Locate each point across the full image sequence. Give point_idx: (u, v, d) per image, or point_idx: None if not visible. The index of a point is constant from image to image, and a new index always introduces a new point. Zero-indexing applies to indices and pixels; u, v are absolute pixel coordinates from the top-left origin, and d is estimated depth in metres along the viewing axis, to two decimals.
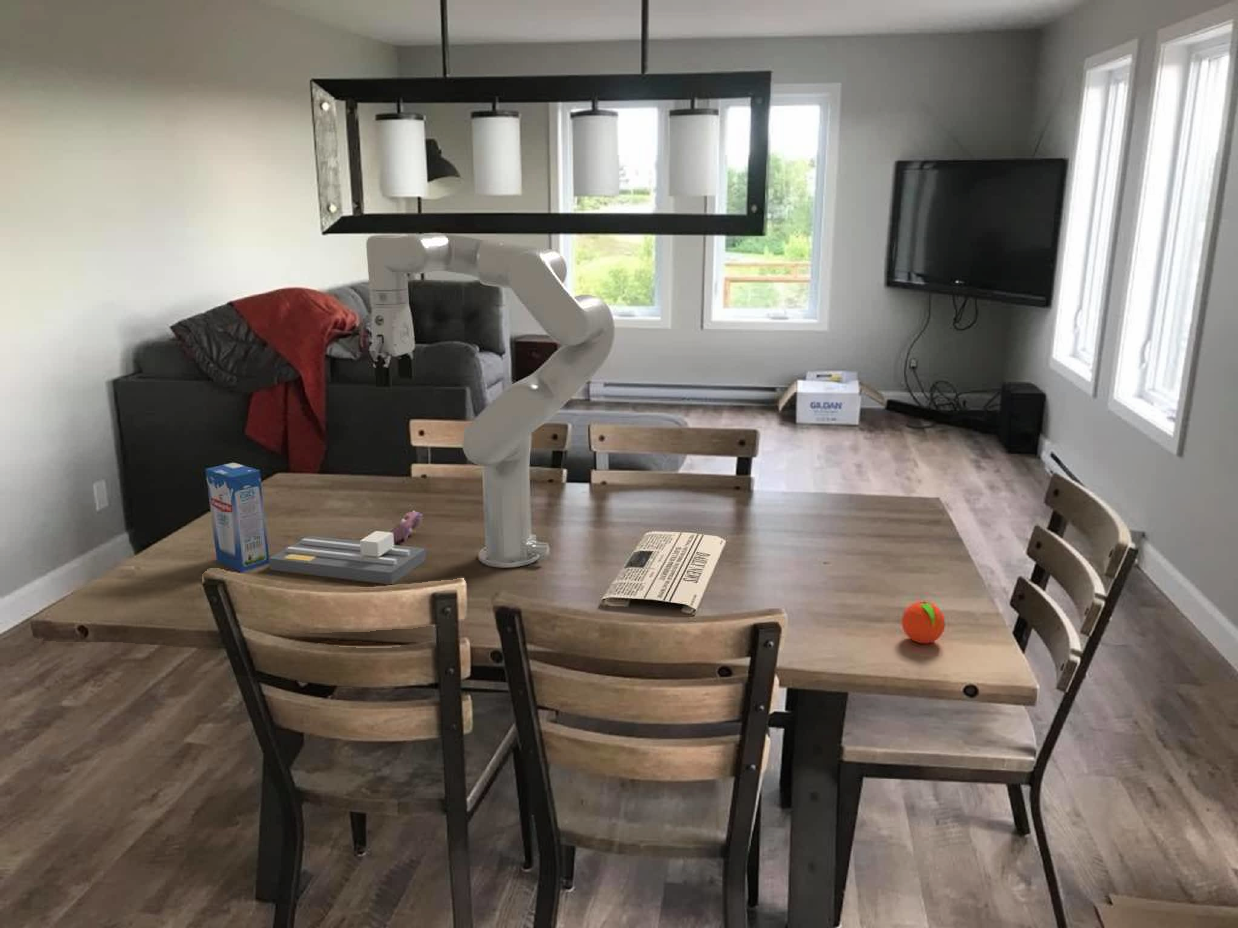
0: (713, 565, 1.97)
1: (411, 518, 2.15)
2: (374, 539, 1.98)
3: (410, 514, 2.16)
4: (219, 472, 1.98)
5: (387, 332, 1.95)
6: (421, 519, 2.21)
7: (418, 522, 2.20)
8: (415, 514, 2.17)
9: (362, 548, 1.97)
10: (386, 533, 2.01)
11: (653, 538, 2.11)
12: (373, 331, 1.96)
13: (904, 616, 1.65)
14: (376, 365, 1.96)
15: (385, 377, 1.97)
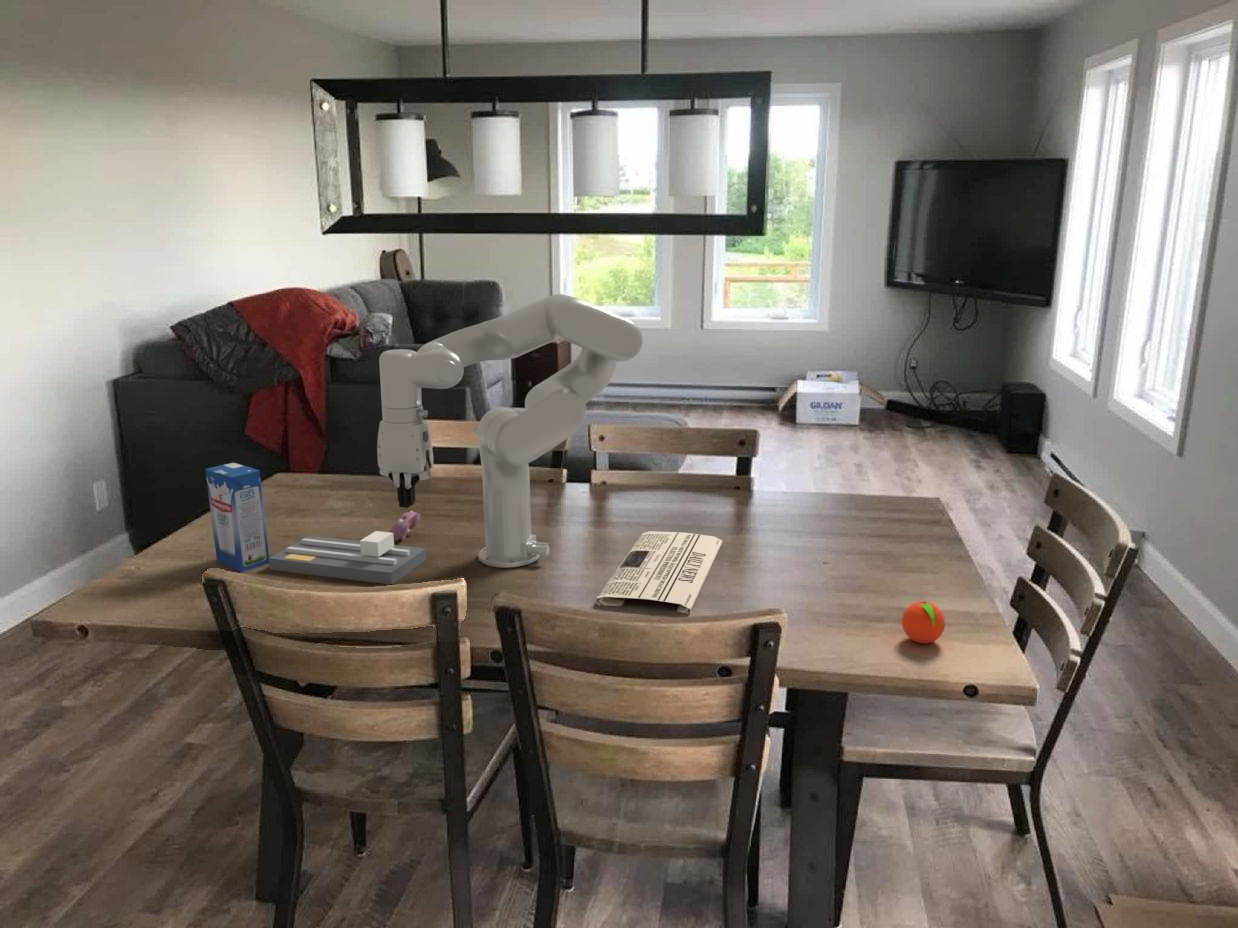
0: (709, 565, 1.98)
1: (409, 518, 2.15)
2: (374, 539, 1.98)
3: (408, 514, 2.17)
4: (219, 472, 1.98)
5: (430, 445, 1.91)
6: (419, 519, 2.21)
7: (416, 522, 2.20)
8: (413, 514, 2.17)
9: (362, 548, 1.97)
10: (386, 533, 2.01)
11: (649, 538, 2.11)
12: (422, 449, 1.89)
13: (904, 616, 1.65)
14: (413, 485, 1.92)
15: None
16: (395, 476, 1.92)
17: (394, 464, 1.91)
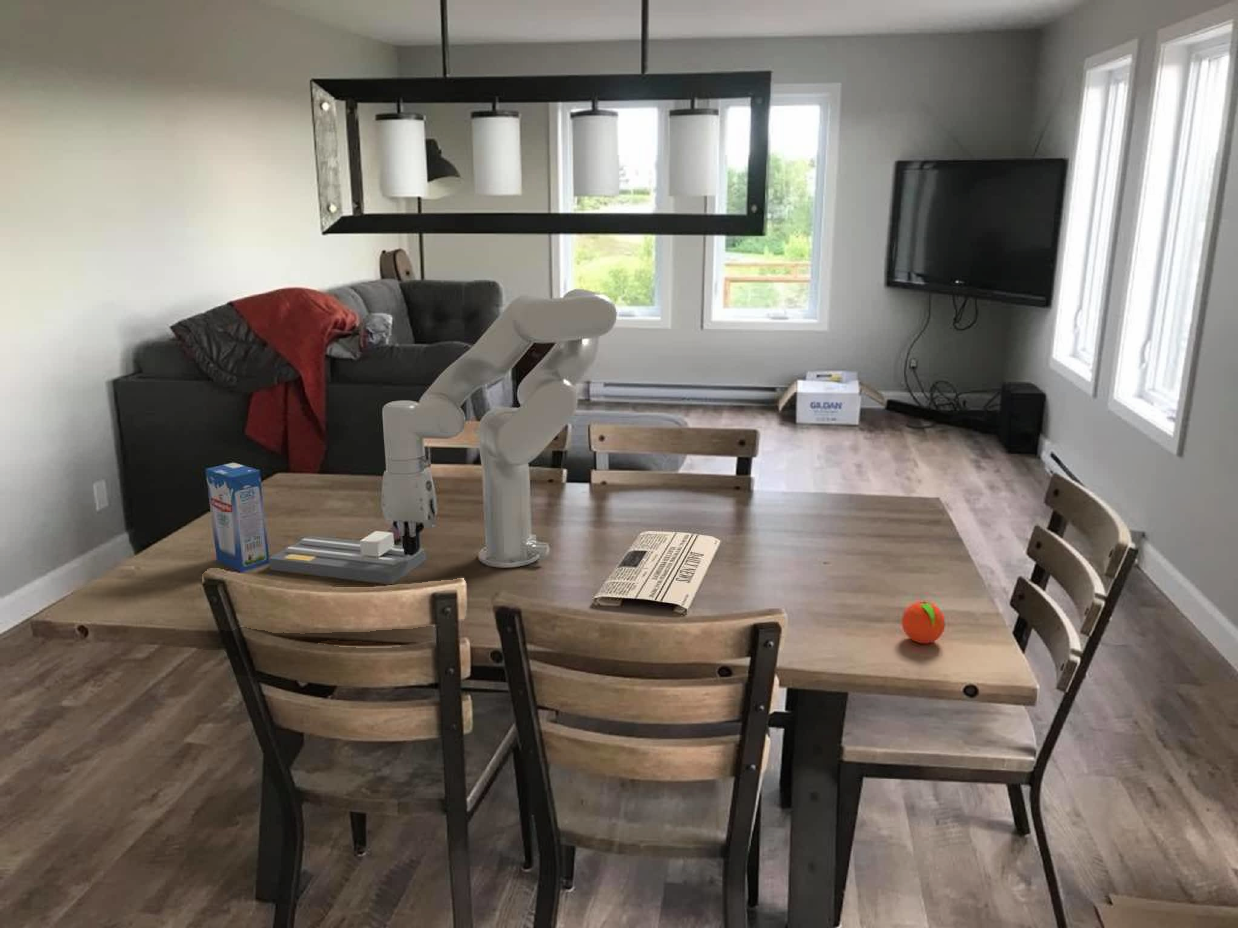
0: (706, 565, 1.98)
1: None
2: (374, 539, 1.98)
3: None
4: (219, 472, 1.98)
5: (434, 494, 1.94)
6: None
7: None
8: None
9: (362, 548, 1.97)
10: (386, 533, 2.01)
11: (648, 538, 2.11)
12: (426, 498, 1.91)
13: (904, 616, 1.65)
14: (417, 533, 1.95)
15: None
16: (400, 525, 1.95)
17: (398, 513, 1.93)
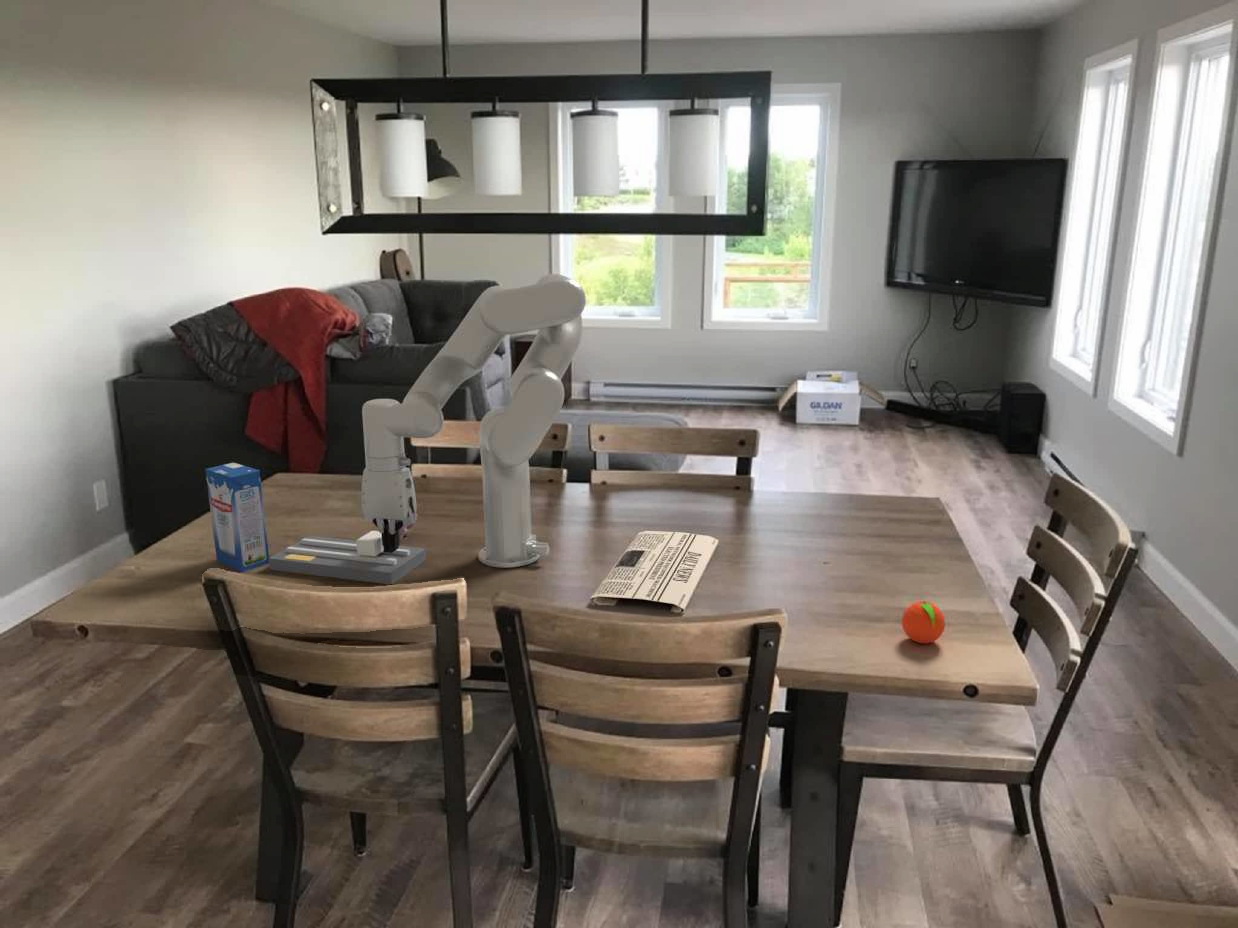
0: (704, 565, 1.98)
1: None
2: (370, 538, 1.98)
3: None
4: (219, 472, 1.98)
5: (413, 492, 1.96)
6: (416, 519, 2.21)
7: None
8: None
9: (358, 548, 1.98)
10: None
11: (646, 538, 2.11)
12: (405, 496, 1.93)
13: (904, 616, 1.65)
14: (397, 530, 1.96)
15: None
16: (379, 522, 1.96)
17: (378, 511, 1.95)
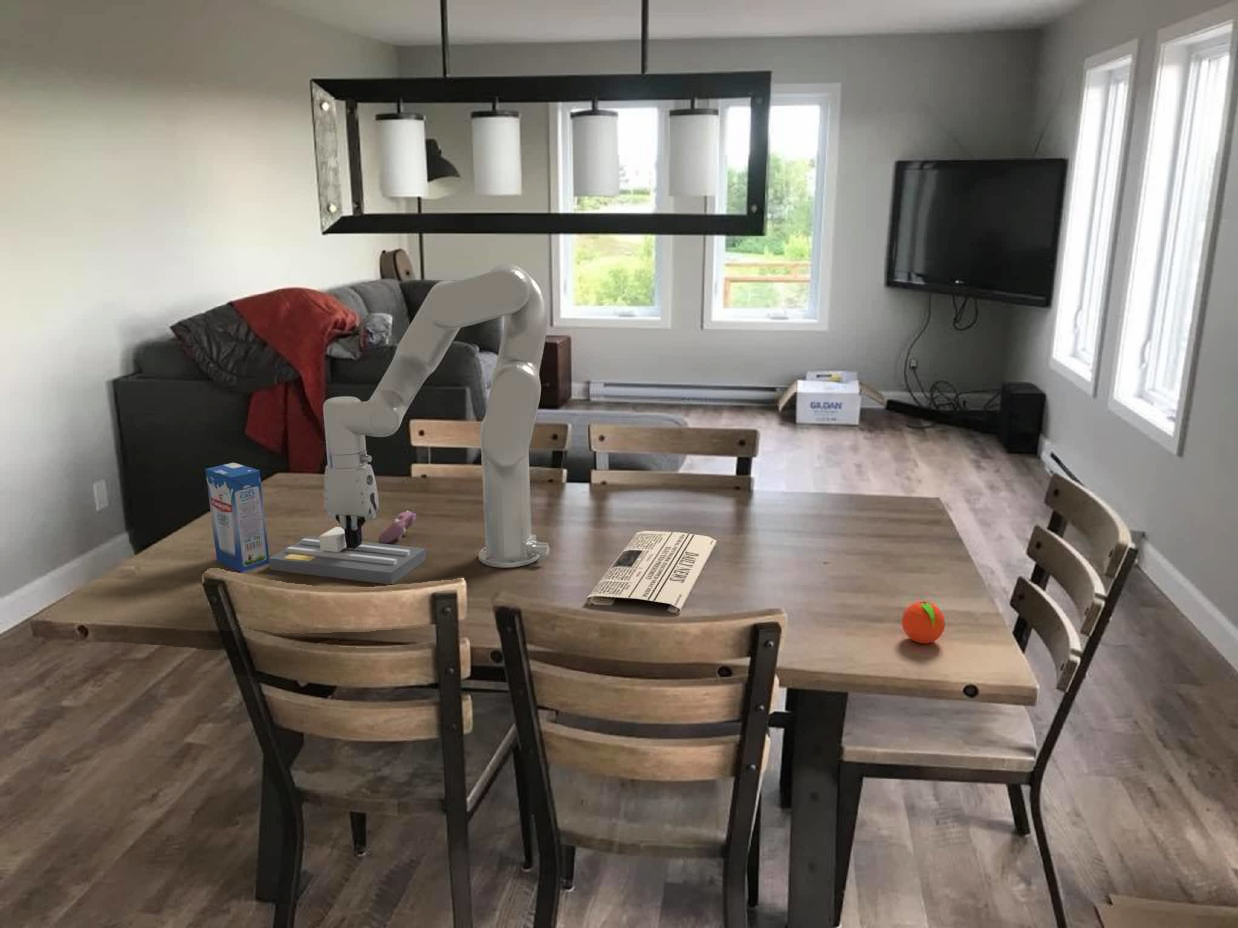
0: (701, 565, 1.98)
1: (405, 518, 2.15)
2: (333, 534, 2.00)
3: (404, 514, 2.17)
4: (219, 472, 1.98)
5: (375, 488, 1.98)
6: None
7: (412, 522, 2.20)
8: (409, 514, 2.17)
9: (321, 543, 2.00)
10: None
11: (643, 537, 2.11)
12: (366, 492, 1.95)
13: (904, 616, 1.65)
14: (359, 526, 1.99)
15: None
16: (342, 518, 1.99)
17: (340, 507, 1.97)
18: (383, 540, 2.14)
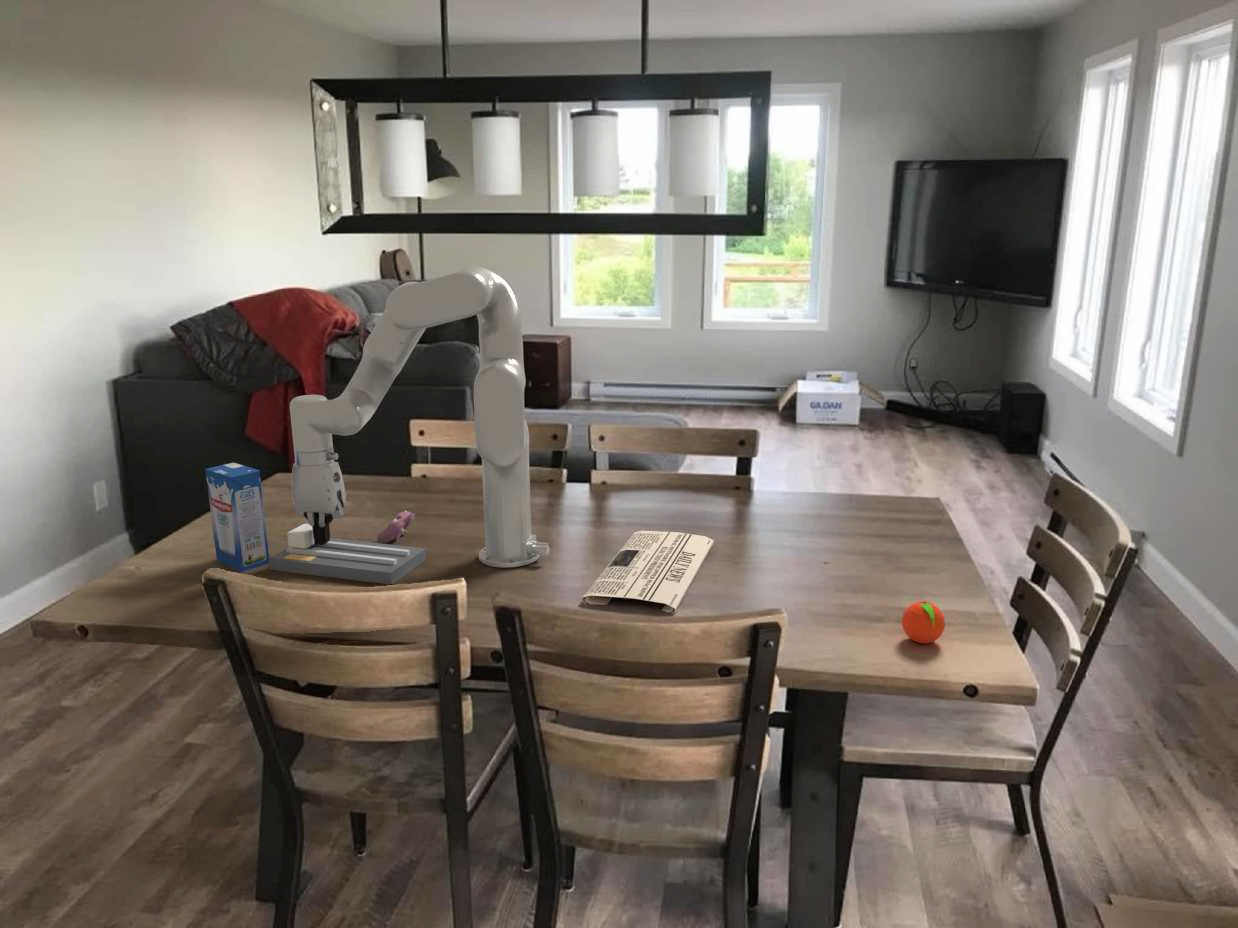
0: (698, 565, 1.98)
1: (403, 518, 2.15)
2: (301, 531, 2.03)
3: (402, 514, 2.17)
4: (219, 472, 1.98)
5: (342, 485, 2.00)
6: (413, 519, 2.21)
7: (410, 522, 2.20)
8: (407, 514, 2.17)
9: (289, 540, 2.02)
10: None
11: (641, 537, 2.11)
12: (333, 489, 1.98)
13: (904, 616, 1.65)
14: (327, 523, 2.01)
15: None
16: (309, 515, 2.01)
17: (308, 504, 1.99)
18: (381, 540, 2.14)
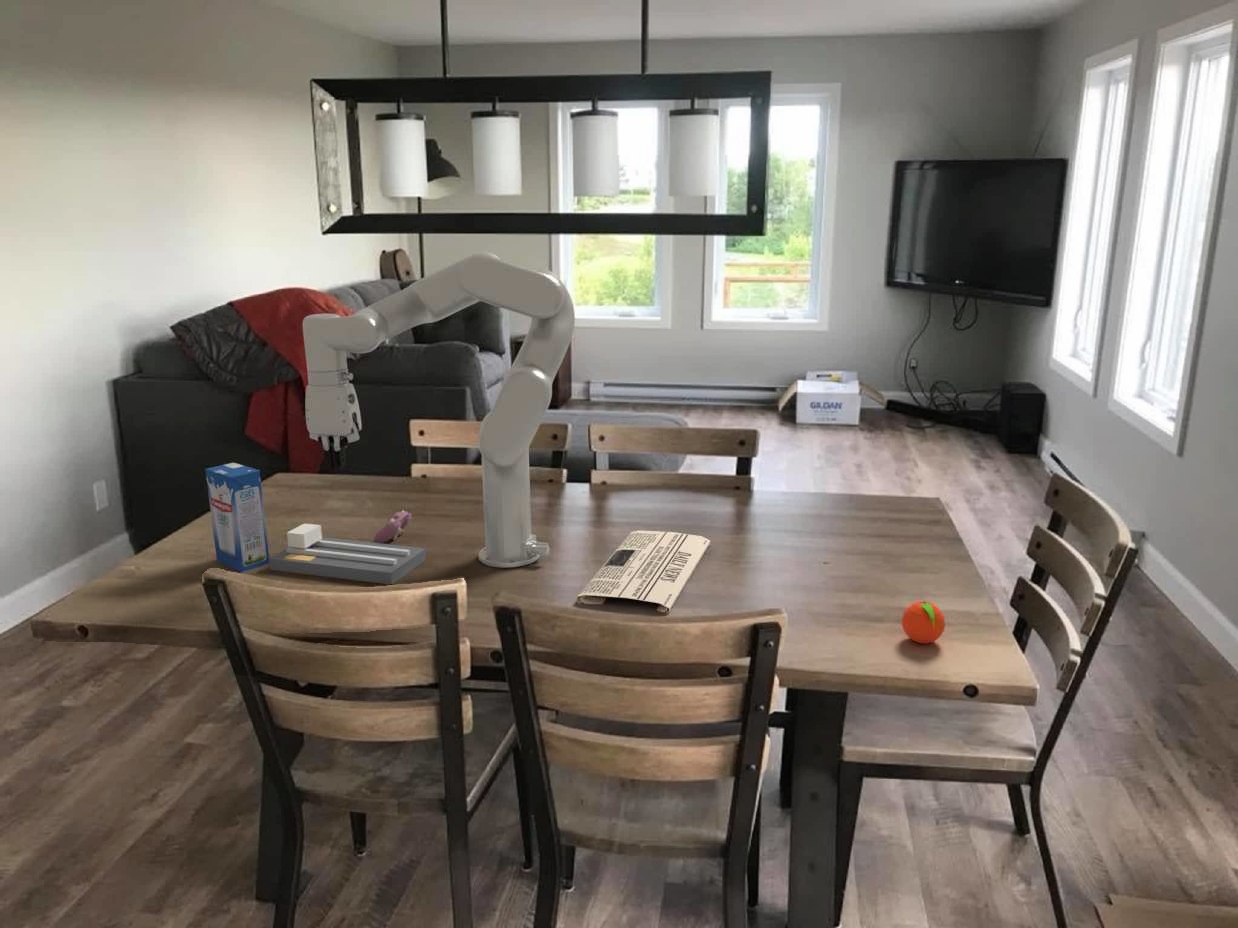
0: (693, 565, 1.98)
1: (400, 518, 2.15)
2: (301, 531, 2.03)
3: (399, 514, 2.17)
4: (219, 472, 1.98)
5: (358, 408, 1.95)
6: (410, 519, 2.21)
7: (407, 522, 2.20)
8: (404, 514, 2.18)
9: (289, 540, 2.02)
10: (314, 525, 2.06)
11: (637, 537, 2.11)
12: (348, 411, 1.92)
13: (904, 616, 1.65)
14: (342, 447, 1.96)
15: None
16: (324, 439, 1.95)
17: (322, 427, 1.94)
18: (378, 540, 2.15)
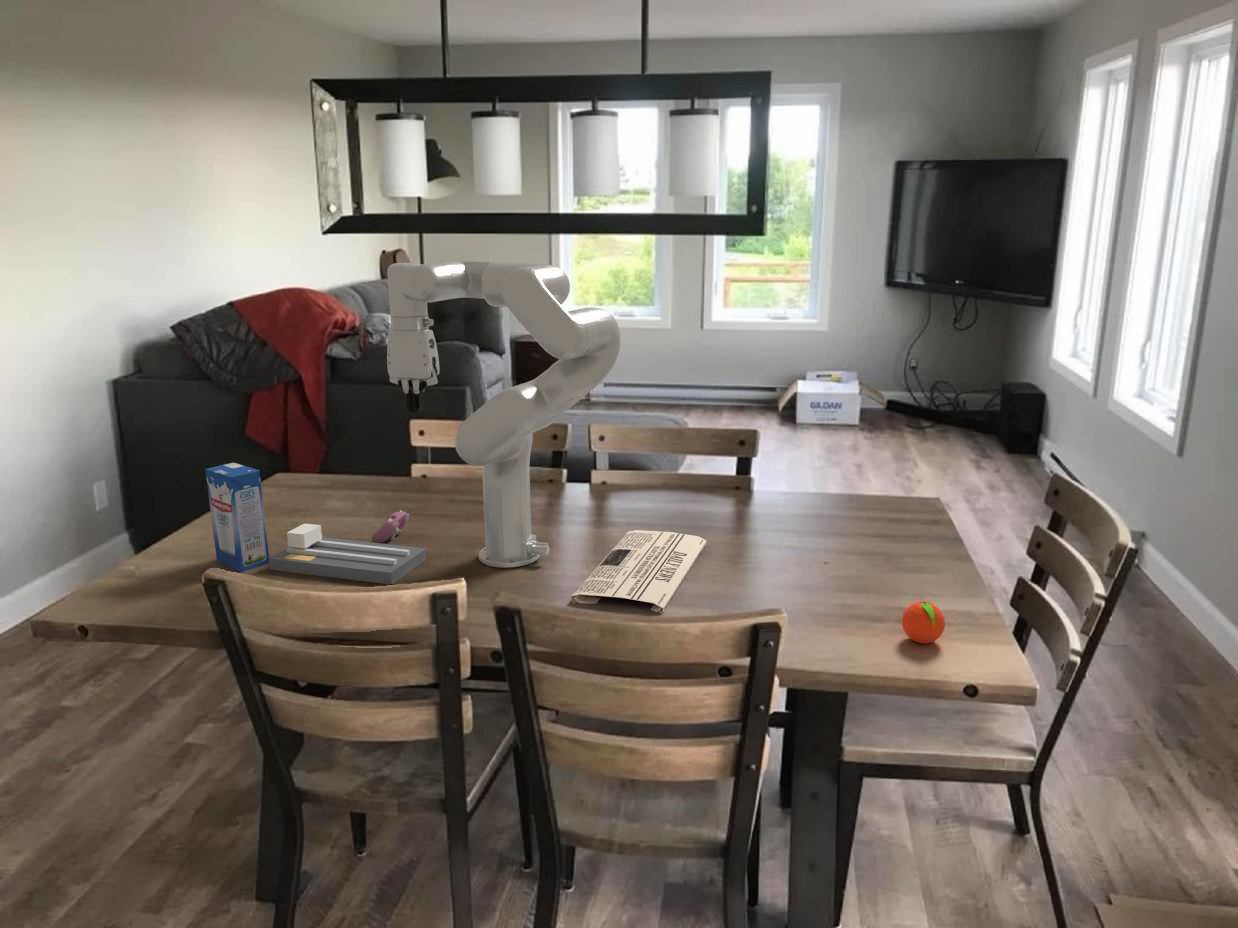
0: (689, 565, 1.98)
1: (398, 518, 2.16)
2: (301, 531, 2.03)
3: (397, 514, 2.17)
4: (219, 472, 1.98)
5: (436, 353, 2.05)
6: (408, 519, 2.22)
7: (405, 522, 2.20)
8: (402, 514, 2.18)
9: (289, 540, 2.02)
10: (314, 525, 2.06)
11: (634, 537, 2.12)
12: (429, 355, 2.02)
13: (904, 616, 1.65)
14: (421, 391, 2.06)
15: None
16: (404, 383, 2.06)
17: (403, 371, 2.04)
18: (376, 539, 2.15)
